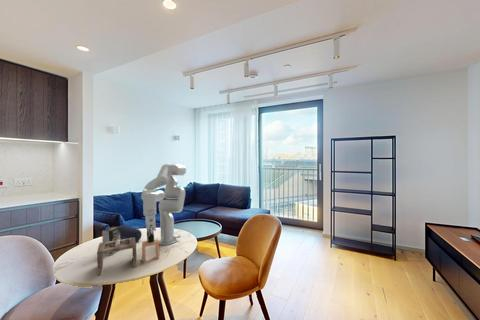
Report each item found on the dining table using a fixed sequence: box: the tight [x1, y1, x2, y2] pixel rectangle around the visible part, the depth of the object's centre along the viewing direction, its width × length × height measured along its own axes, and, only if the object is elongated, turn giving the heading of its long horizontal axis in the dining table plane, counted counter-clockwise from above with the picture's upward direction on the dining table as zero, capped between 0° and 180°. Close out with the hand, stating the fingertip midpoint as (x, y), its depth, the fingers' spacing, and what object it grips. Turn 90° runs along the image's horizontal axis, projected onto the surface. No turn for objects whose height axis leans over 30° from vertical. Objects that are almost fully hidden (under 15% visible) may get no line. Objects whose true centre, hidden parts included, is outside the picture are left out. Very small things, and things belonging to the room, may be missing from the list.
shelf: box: [96, 237, 137, 277], centre depth 129 cm, size 19×14×14 cm
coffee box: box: [101, 226, 121, 256], centre depth 147 cm, size 9×6×16 cm
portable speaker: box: [117, 224, 142, 243], centre depth 169 cm, size 25×10×10 cm, turn 58°
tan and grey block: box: [141, 234, 160, 263], centre depth 137 cm, size 9×4×15 cm, turn 118°
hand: (150, 239), depth 137 cm, fingers open, 8 cm apart
